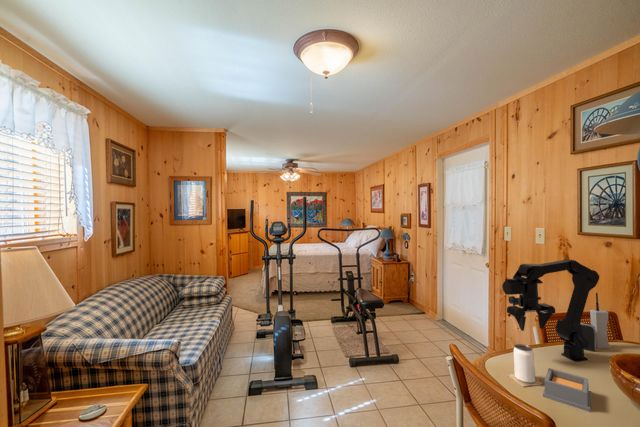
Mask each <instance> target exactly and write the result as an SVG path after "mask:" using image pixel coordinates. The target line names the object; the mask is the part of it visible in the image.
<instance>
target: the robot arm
mask: <svg viewBox="0 0 640 427" xmlns="http://www.w3.org/2000/svg"><path fill="white" fill-rule="evenodd" d="M564 271H567V272H568V273H569V274H570V275H571V281H572V283H573V290H572V294H571V297H570V300H569V304H568V307H567V311H566V314H565V317H564V318H562V319H557V321H556V325H555V327H554V328H555V332H556V335H558V336H559V337H558V338H559V339H560V340H562V341H563V352H562V353H561V354H560V355H561V356H563V357H565V358H566V359H570V360H572V361H573V362H582V361H585V362H586V361H589V358H587V357H585V349H584V348H585V347H588V345H589V342H588V341H587V340H586V339H585V338H584V337H582V333H583V330H582V327H581V324H580V323H581V320H582V317H583V314H584V311H585V307H586V304H587V301H588V297H589V294H590V291H591V290H592V289H594V288H595V287H596V286H597V285H598V283H599V281H600V275H599V273H598V271H597V270H594V269H591V268H589V267H587V266H585V265H583V264H581V263H580V262H578V261H576V260H574V259H569V258H564V259H562V260H555V261H551V262H545V263H540V264H539V263H521V264H520V265H519V267H518V269H517V270H516V272H515V273H514V275H513V277H512V278H505V280H504V281H503V283H502V285H501V287H502V290H503V293H504V294H505V295H506V296H507V295H508V299H507V300H508V303H509V304H510V306H507V307H506V313H507V314H510V315H511V316H513V317H514V319H515V321H516V322H517V324H518V327H519V329H520V331H522V332H523V331H525V326H526V319H527V317H526V316H525V315H526V313H534V312H536V314H537V317H538V325H539V326H538V327H539V329H540V330H543V329H544V327H545V326H546V324H547V322H548V321H549V319H550V318H551V317H552V316H553V315H554V314H556V308H555V307H554V305H551V304H547V303H545V302H542V303H539V300H540V301H541V300H542V297H541V296H539V288H538V287H539V286H538V284H544V282H543V281H542V280H541V279H540V278H543V277H544V276H545V275H547V274H553V273H559V272H564ZM510 295H511V296H510ZM513 295H514V296H513ZM515 295H519V297H515ZM511 304H512V305H511Z"/></svg>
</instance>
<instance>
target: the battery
mask: <svg viewBox="0 0 640 427" xmlns="http://www.w3.org/2000/svg"><path fill="white" fill-rule="evenodd" d="M580 324H581V327H582V330H583V333H582V337H584V338H585V339H586V340H587V341H588V342H589V345H588V347H585V348H584V350H586V351H590V352H596V351H597V350H596V348H597V347H595V337H596V332H595V327H594V326H593V325H591V323H584V322H580Z"/></svg>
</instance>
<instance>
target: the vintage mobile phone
mask: <svg viewBox="0 0 640 427" xmlns="http://www.w3.org/2000/svg"><path fill="white" fill-rule="evenodd" d="M598 295H599V294H598V293H597V292H596V293H595V300H596V302H595V307H596V308H595V309H590V310H589V314H590V325H593V326H594V327H595V332H596V337H595V348H598V349H611V345H610V343H609V340H608V324H609V311H606V310H605V309H600V307H599V306H600V305H599V296H598Z"/></svg>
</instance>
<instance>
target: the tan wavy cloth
mask: <svg viewBox="0 0 640 427" xmlns="http://www.w3.org/2000/svg"><path fill="white" fill-rule="evenodd" d="M506 376H507V377H509V378H510V379H511V380H512V381H514V382H516V383H517V384H518V385H520V386H521V387H523V388H526V387H537V386H543V385H544V383H542V382H541V381H540V380H538V379H536V378H535V382H533V383H525V382H522V381H520V380H518V379H517V378H516V377H515V372H513V373H507V374H506Z"/></svg>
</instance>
